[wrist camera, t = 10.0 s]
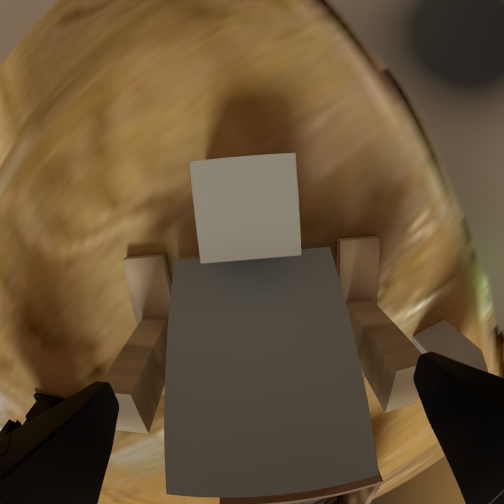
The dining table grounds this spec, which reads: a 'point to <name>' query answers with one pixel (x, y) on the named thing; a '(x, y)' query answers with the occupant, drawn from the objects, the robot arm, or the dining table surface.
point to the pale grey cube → (246, 207)
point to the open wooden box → (319, 494)
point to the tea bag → (449, 344)
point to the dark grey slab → (263, 380)
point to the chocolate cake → (324, 501)
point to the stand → (359, 309)
